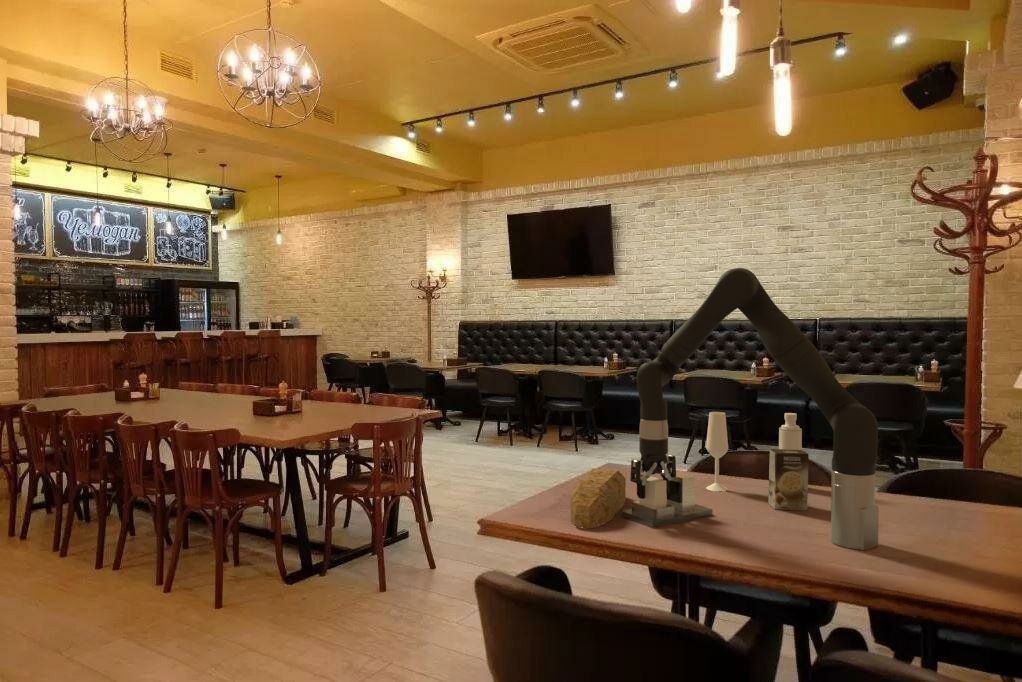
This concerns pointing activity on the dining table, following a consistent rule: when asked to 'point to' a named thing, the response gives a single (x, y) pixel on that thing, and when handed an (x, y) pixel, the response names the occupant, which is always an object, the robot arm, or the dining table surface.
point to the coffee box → (788, 479)
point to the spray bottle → (790, 433)
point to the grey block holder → (670, 505)
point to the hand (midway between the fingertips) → (653, 495)
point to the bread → (597, 497)
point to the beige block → (654, 493)
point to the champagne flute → (717, 444)
